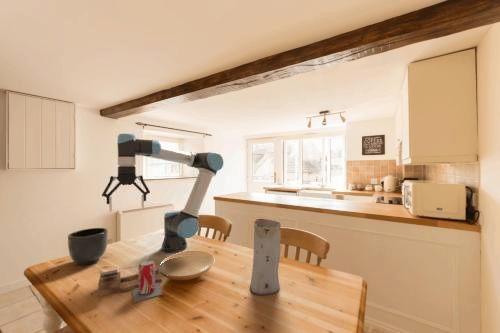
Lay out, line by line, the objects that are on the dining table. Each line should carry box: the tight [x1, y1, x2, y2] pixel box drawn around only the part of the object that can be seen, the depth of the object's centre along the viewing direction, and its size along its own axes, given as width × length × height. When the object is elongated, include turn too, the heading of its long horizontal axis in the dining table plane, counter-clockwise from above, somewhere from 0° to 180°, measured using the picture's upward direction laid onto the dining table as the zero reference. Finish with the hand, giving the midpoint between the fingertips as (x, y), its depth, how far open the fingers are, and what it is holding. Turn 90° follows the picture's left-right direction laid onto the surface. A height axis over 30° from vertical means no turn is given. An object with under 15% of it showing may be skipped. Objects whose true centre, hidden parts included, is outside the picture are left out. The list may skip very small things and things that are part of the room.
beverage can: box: [137, 259, 156, 294], centre depth 89 cm, size 6×6×12 cm
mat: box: [132, 282, 163, 304], centre depth 89 cm, size 10×10×1 cm
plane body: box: [97, 269, 163, 297], centre depth 95 cm, size 24×10×5 cm, turn 120°
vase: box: [249, 218, 282, 296], centre depth 92 cm, size 13×14×28 cm
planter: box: [67, 227, 108, 266], centre depth 118 cm, size 17×17×16 cm
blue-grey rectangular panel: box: [99, 269, 120, 278], centre depth 89 cm, size 7×1×8 cm
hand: (127, 209), depth 106 cm, fingers open, 13 cm apart
